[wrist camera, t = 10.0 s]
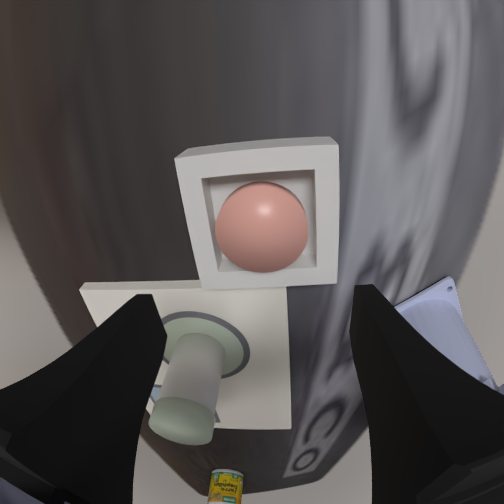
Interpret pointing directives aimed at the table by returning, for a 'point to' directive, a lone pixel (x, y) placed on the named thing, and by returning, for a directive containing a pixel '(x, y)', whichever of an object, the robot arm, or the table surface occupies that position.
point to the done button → (262, 227)
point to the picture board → (228, 334)
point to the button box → (270, 170)
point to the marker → (190, 391)
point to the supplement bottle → (225, 487)
